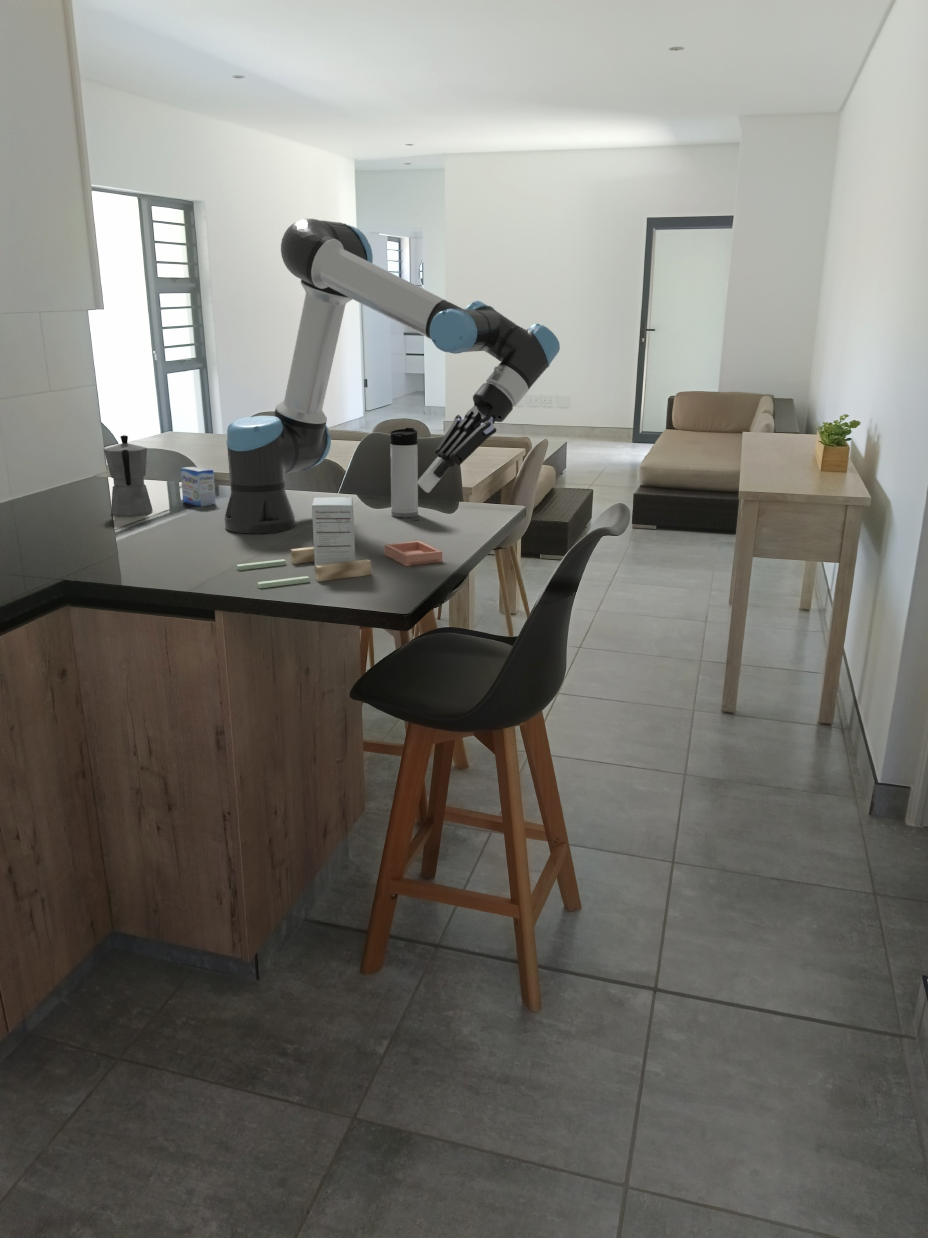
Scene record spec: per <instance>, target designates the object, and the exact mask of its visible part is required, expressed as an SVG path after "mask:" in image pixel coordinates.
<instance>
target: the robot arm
mask: <svg viewBox="0 0 928 1238" xmlns="http://www.w3.org/2000/svg"><path fill="white" fill-rule="evenodd" d="M280 242H281V243H280V255H281V259H282V261H283V264H284V266H285V267H286V268H287V270H288V271H289V272H290V273H291V274H292V275H293V276H295V277H296V278H298V279H300V285H301V286H302V288H303V289H304V291H305V295H304V296H305V297H304V301H303V306H302V311H301V316H300V321H299V324H298V325H299V327H298V330H297V335H296V341H295V345H294V351H293V354H292V360H291V365H290V371H289V375H288V380H287V385H286V390H285V396H284V399H283V401H281V402H280V403H277V404H276V406H275V409H274V415H256V416H248V417H243V418H239V419H235V420H234V421H232V422H231V423H230V424H229V425H228V427H227V430H226V436H227V437H226V447H227V448H226V449H227V456H228V457H227V459H228V470H229V473H228V474H229V481H230V482H229V483H230V484H229V486H230V495H229V499H228V503H227V507H226V511H225V515H224V527H225V530H227V531H229V532H234V533H241V534H267V533H269V534H271V533H279V532H283V531H288V530H290V529H292V528H294V527H295V526H296V520H295V517H296V516H295V514H294V511H293V508H292V505H291V503H290V499H289V497H288V495H287V492H286V481H285V479H286V477H285V474H288V473H294V472H297V471H306V470H309V469H311V468H314V467H316V466H318V465H320V464H321V463H322V462H323V461H324V460H325V459H326V458H327V456H328V455H329V452H330V450H331V445H332V436H331V433H329V427H328V425H327V420H328V418H327V416H326V414H325V412H324V410H323V407H324V404H325V400H326V399H325V398H326V395H327V394H326V393H327V389H328V385H329V380H330V375H331V371H332V367H333V362H334V360H335V359H334V358H335V354H336V348H337V344H338V340H339V336H340V335H339V334H340V331H341V327H342V321H343V318H344V314H345V308H346V305H347V303H349V302H351V301H352V300H354V301H355V302H357V303H360V304H362V305H363V306H365V307H367V308H369V309H371V310H373V311H375V312H377V313H379V314H381V315H383V316H385V317H387V318H388V319H390V320H392V321H394V322H396V323H399V324H401V325H403V327H406V328H408V329H409V330H412V331H414V332H416V333H418V334H420V335H422V336H424V337H426V338H427V339H429V340H431V342H432V343H433V344H434V346H435V347H436V348H437V349H438V350H440V351H442V352H445V353H450V354H456V355H457V354H461V353H470V352H472V353H473V352H485V353H487V354H489V355H490V356H492V357H493V358H494V359H496V360H498V361H500V363H499V364H498V365H497V366H494V369H493V372H492V373H490V375H489V376H488V378H487V379H486V380H485V383H482V385H480V387H479V388H478V389H477V391H475V393H474V394H473V396H472V401H473V406H472V407H471V408H470V409H469V410H467V412H466V413H465V414H464V416H461V415H460V414H457V415H455V417H454V419H453V422H452V424H451V425H450V427H449V428H448V430H447V431H446V433H445V435H444V436H443V438H442V439H441V441H440V442H439V443H438V445H437V447H436V448H435V450H434V454H435V455H436V458H435V459H434V460H433V461H432V463H431V464H430V465H429V466H428V468H427V469H426V470H425V471H424V472H423V474H422V475H421V476H420V477H419V478H418V481H417V482H416V483H417V484H418V487H420V488H421V489H422V490H423V491H424V492H425V493H428V494H430V492H431V491H432V490H433V488H434V487H435V486H436V485H437V483H439V482H440V480H441V479H442V478H443V476H444V475H446V473H447V471H448V470H449V469H450V468H451V467H454V466H455V465H457V466H460V465H462V464H463V463H464V462H465V461H466V460H467V459H468V458H469V457H471V455H472V454H473V453H474V452H475V451H476V450H477V449H478V448H479V447H480V446H481V445H482V444H483V443H484V442H485V441H486V440H487V439H488V438H491V436H493V435H494V434H495V433H496V432H497V429H496V427H495V426H494V424H495V423H502V422H503V421H505V420H506V418H507V417H508V416H509V414H510V413H511V412H512V411H513V409H514V408H513V407H516V406H517V405H518V404H519V403H520V401H521V400H522V399H523V398H524V397H525V395H526V394H527V393H528V392H529V390H530V389H531V387H533V385H534V384H535V383H536V381H538V379H539V378H540V377H541V376H542V374H544V372H545V371H546V370H547V369H548V368H549V367H550V366H551V363H552V362H553V361H554V360H555V358H556V356H557V355H558V354H559V352H560V349H561V348H560V347H561V346H560V345H561V343H560V341H559V339H558V338H557V335H556V334H555V333H554V332H553V331H552V330H551V329H550V328H548V327H546V326H545V325H544V324H540V323H533V324H532V325H531V326H529V327H528V328H527V329H525V328H524V327H522V326H519V325H518V324H517V323H516V322H513V321H512V320H511V319H509V318H508V317H506V316H504V315H503V314H501V313H500V312H498V311H497V310H496V309H495V308H494V307H493V306H490V305H487V304H486V303H484V302H482V301H480V300H474V301H473V302H471V303H470V304H468V305H466V306H465V308H462V307H461V306H458V305H457V304H454V303H452V302H450V301H447V300H446V299H444V298H442V297H440V296H438V295H437V294H434V293H432V292H431V291H429V290H426V289H424V288H422V287H420V286H418V285H416V284H414V283H412V282H411V281H408V280H407V279H404V278H402V277H400V276H398V275H396V274H395V273H392V272H390V271H388V270H386V269H384V268H382V267H381V266H378V265H376V264H374V263H373V260H374V259H373V258H374V257H373V256H374V255H373V250H372V246H371V244H370V242H369V240H368V238H367V236H366V235H365V234H364V233H363V232H362V231H361V230H360V229H358V228H356V227H355V226H353V225H350V224H347V223H343V222H340V221H339V222H338V221H337V222H336V221H329V220H320V219H315V218H304V219H303V218H302V219H300V220H299V219H298V220H297V221H295V222H294V223H292V224H291V225H290V226H288V227H287V229H286V230H285V232H284V234H283V235H282V238H281V241H280Z"/></svg>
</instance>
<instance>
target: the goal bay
mask: <svg viewBox="0 0 928 1238" xmlns="http://www.w3.org/2000/svg"><path fill="white" fill-rule="evenodd" d="M286 565H287V561H286V559H284V558H282V559H277V560H276V559H274V560H267V561H266V560H264V561H257V562H250V563H249V562H247V563H240V564H236V566H235V567H236V570H237V571H246V570H253V569H262V568H268V567H269V568H271V567H279V566H286ZM310 579H311V578H310V577H309V576H308V575H306V576H298V577H297V576H296V577H288V578H282V579H280V578H279V579H273V580H265V581H257V582H256V583H257V585H256V586H257V588H258V589H265V588H266V589H267V588H273V587H281V586H282V587H283V586H289V585H299V584H304V583H310V582H311V580H310Z"/></svg>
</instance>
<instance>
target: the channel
mask: <svg viewBox="0 0 928 1238" xmlns="http://www.w3.org/2000/svg"><path fill="white" fill-rule="evenodd" d="M290 562H291V563H292V564H293V565H297V564H306V563H313V562H314V563H315V560H314V546H309V547H300V548H299V547H298V548H290ZM314 573H315V581H317V582H323V581H331V580H340V579H348V578H355V577H356V578H357V577H363V576H371V575H372V562H371V560H370V559H368V558H367V559H360V560H355V561H350V562H342V563H333V564H325V565H317V566H315V565H314Z"/></svg>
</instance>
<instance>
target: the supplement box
mask: <svg viewBox="0 0 928 1238" xmlns="http://www.w3.org/2000/svg"><path fill="white" fill-rule="evenodd" d="M311 512H312V513H311V514H312V517H311V518H312V535H313V536H312V537H313V538H312V542H313V547H314V560H315V561H314V567H315V566H317V565H325V564H333V563H342V562H350V561H356V547H355V543H356V541H355V540H356V539H355V517H354V516H355V515H354V498H353V497H348V496H343V497H342V496H340V497H338V496H337V497H336V496H335V497H334V496H333V497H332V496H331V497H329V496H328V497H314V498H313V500H312V504H311Z"/></svg>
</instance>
